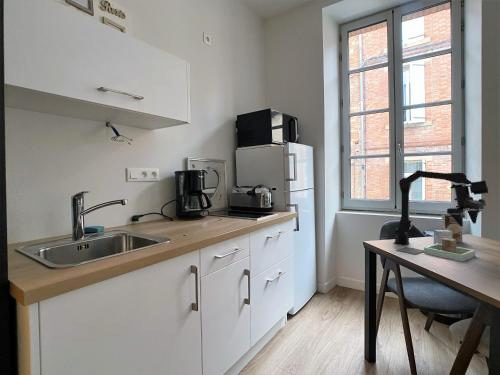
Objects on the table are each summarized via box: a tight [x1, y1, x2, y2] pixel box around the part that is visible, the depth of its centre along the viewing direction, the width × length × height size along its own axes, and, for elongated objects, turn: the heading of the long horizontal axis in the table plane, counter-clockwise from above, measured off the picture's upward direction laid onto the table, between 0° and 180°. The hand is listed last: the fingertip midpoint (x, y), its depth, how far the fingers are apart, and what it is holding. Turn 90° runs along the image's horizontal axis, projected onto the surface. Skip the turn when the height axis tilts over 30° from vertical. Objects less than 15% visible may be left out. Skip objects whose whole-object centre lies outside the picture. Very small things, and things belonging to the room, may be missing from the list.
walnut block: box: [442, 238, 457, 253], centre depth 135 cm, size 4×4×8 cm
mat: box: [396, 246, 424, 256], centre depth 143 cm, size 10×10×1 cm
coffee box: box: [440, 213, 464, 243], centre depth 162 cm, size 9×6×16 cm
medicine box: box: [433, 229, 452, 245], centre depth 152 cm, size 8×4×9 cm, turn 84°
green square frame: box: [423, 243, 476, 262], centre depth 135 cm, size 17×14×3 cm
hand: (468, 224), depth 139 cm, fingers open, 9 cm apart
